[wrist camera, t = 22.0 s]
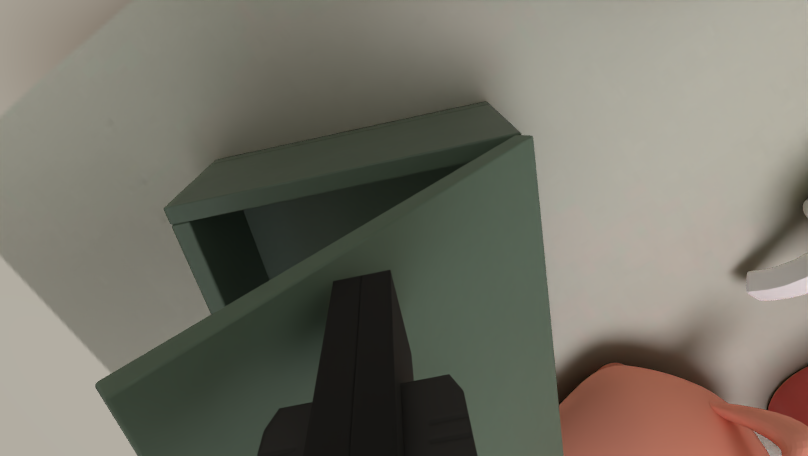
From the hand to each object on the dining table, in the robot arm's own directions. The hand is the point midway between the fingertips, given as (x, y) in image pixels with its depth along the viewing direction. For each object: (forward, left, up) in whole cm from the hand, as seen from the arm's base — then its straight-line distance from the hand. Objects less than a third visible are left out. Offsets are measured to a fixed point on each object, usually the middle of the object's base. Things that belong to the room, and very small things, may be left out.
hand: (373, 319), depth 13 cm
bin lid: (0, -7, -2) cm, 7 cm away
